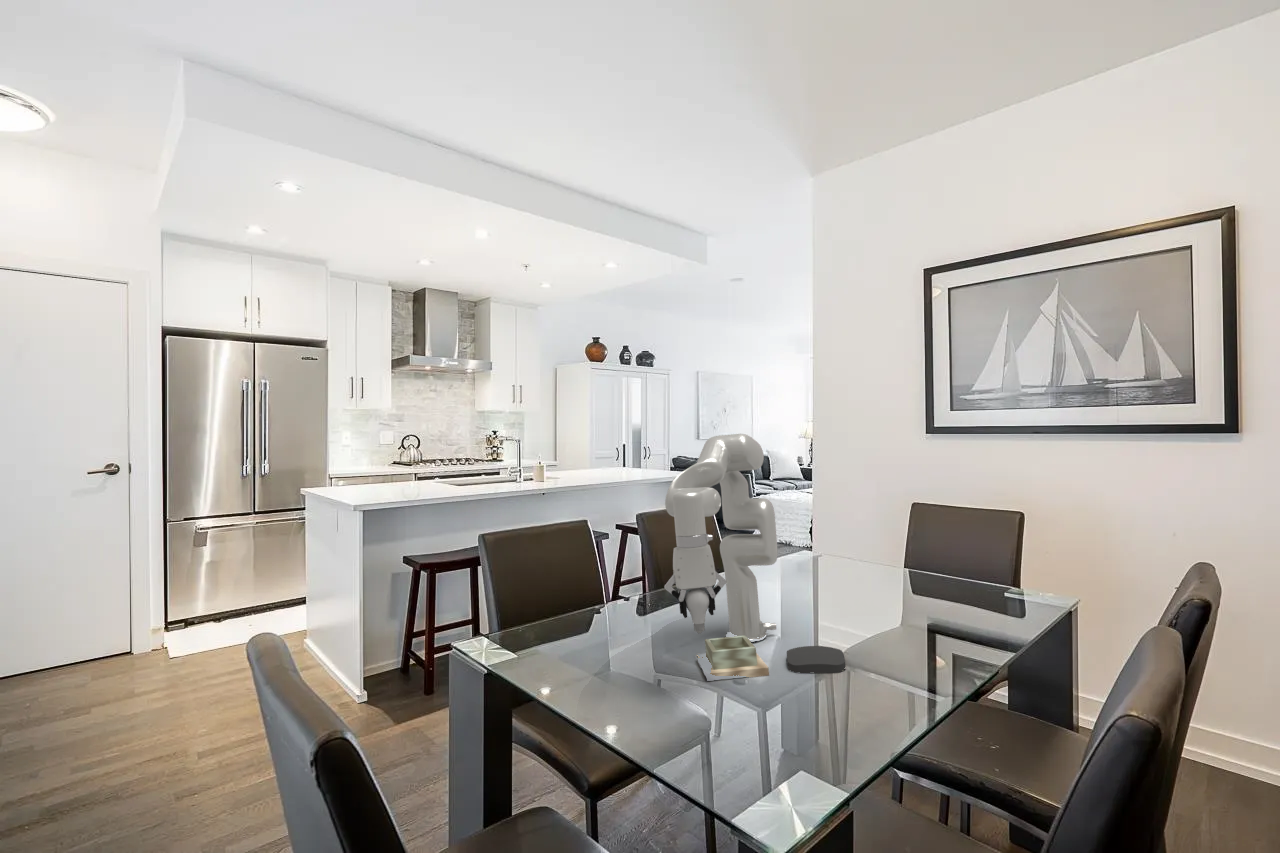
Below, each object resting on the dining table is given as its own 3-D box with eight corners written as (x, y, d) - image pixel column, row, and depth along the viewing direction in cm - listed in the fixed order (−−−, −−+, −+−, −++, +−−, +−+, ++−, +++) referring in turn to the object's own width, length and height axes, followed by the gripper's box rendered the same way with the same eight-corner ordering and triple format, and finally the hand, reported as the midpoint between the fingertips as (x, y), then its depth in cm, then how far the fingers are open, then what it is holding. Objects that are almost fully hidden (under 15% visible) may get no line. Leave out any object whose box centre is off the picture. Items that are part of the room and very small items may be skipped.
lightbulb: (692, 638, 148) (688, 592, 149) (683, 631, 154) (680, 587, 154) (716, 634, 150) (712, 589, 150) (706, 627, 156) (703, 584, 156)
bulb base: (753, 655, 174) (751, 632, 174) (769, 675, 158) (766, 649, 158) (697, 661, 173) (695, 637, 173) (707, 681, 157) (705, 655, 157)
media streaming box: (848, 674, 155) (846, 662, 156) (788, 675, 158) (787, 663, 158) (841, 655, 170) (840, 644, 170) (786, 656, 173) (785, 645, 173)
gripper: (722, 536, 157) (729, 607, 156) (655, 542, 156) (661, 614, 155) (729, 540, 149) (735, 615, 149) (658, 547, 148) (665, 623, 148)
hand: (698, 614), depth 152 cm, fingers closed on lightbulb, 5 cm apart
